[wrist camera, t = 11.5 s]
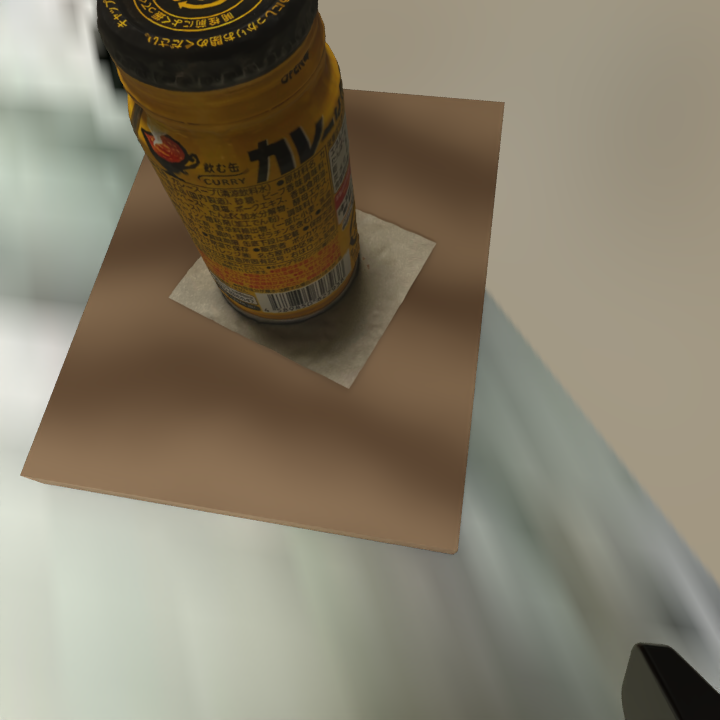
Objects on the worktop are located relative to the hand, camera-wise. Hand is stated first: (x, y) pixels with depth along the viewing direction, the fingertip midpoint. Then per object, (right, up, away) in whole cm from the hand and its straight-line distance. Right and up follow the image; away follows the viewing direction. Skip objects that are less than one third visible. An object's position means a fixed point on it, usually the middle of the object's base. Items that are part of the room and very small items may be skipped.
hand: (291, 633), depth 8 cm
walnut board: (-2, +7, +18) cm, 19 cm away
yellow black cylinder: (-1, +7, +16) cm, 18 cm away
